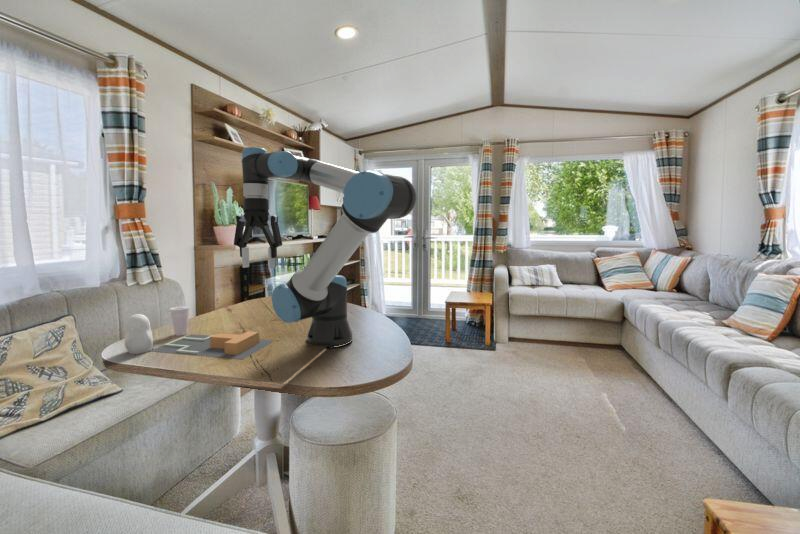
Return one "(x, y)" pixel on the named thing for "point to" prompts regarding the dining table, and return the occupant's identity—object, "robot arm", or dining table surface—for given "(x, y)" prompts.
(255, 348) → the mat
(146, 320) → the figurine
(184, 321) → the smoothie
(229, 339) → the t block
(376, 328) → the dining table surface
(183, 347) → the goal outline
